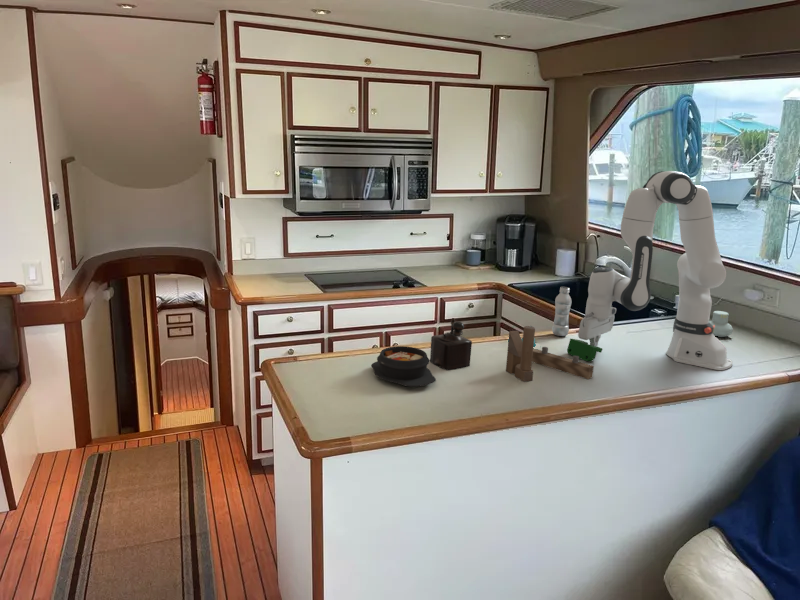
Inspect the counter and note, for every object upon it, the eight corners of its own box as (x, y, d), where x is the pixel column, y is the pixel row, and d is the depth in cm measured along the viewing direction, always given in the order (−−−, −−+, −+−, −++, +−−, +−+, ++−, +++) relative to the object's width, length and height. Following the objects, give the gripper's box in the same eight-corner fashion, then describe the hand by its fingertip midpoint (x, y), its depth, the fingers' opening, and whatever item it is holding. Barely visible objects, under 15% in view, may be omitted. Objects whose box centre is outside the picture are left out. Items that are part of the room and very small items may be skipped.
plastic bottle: (559, 338, 252) (564, 290, 248) (548, 333, 258) (553, 286, 253) (571, 337, 255) (577, 289, 250) (560, 332, 261) (565, 285, 256)
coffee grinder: (427, 361, 220) (430, 312, 216) (453, 357, 226) (456, 308, 221) (453, 376, 207) (456, 324, 203) (480, 371, 213) (484, 320, 209)
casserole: (357, 370, 209) (358, 346, 207) (403, 361, 220) (404, 338, 218) (401, 396, 190) (402, 370, 187) (449, 385, 200) (450, 360, 198)
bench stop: (592, 377, 212) (594, 360, 210) (588, 379, 210) (590, 362, 208) (531, 358, 228) (532, 342, 227) (526, 360, 226) (528, 344, 224)
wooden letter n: (514, 369, 216) (518, 319, 211) (532, 381, 206) (538, 328, 202) (505, 371, 214) (509, 320, 210) (523, 382, 205) (528, 329, 200)
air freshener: (700, 331, 272) (704, 309, 269) (718, 331, 272) (722, 309, 270) (715, 339, 261) (719, 316, 259) (734, 339, 262) (738, 316, 259)
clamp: (592, 371, 231) (606, 352, 227) (581, 369, 228) (595, 350, 224) (574, 349, 239) (587, 331, 235) (563, 347, 236) (576, 329, 232)
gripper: (592, 317, 223) (587, 354, 227) (618, 308, 237) (613, 343, 241) (576, 313, 227) (571, 349, 231) (603, 304, 242) (598, 339, 245)
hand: (593, 346), depth 236 cm, fingers closed
